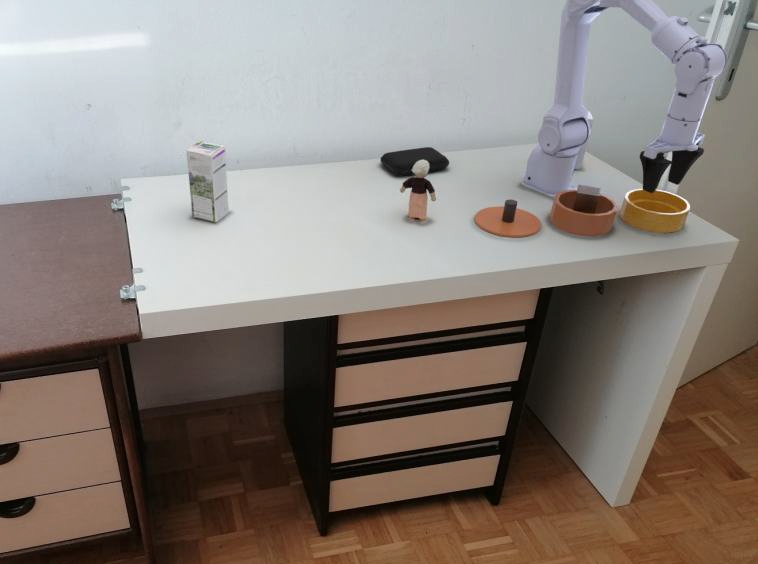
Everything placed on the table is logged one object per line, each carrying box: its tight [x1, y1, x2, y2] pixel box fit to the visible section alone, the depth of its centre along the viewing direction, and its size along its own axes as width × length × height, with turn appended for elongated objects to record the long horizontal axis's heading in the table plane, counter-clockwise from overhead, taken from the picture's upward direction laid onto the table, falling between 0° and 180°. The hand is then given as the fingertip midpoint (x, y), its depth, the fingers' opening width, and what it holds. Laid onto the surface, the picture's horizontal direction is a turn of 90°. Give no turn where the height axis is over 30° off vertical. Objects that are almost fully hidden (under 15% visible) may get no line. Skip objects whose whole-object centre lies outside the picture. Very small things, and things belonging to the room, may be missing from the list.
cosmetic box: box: [574, 111, 594, 170], centre depth 170 cm, size 6×4×12 cm
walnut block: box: [572, 184, 601, 214], centre depth 146 cm, size 4×4×7 cm
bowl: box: [619, 188, 691, 234], centre depth 148 cm, size 12×12×4 cm
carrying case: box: [379, 146, 450, 177], centre depth 171 cm, size 11×3×15 cm
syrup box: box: [186, 141, 230, 223], centre depth 145 cm, size 6×6×14 cm
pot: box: [549, 190, 619, 237], centre depth 146 cm, size 12×12×5 cm
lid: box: [474, 198, 542, 238], centre depth 146 cm, size 13×13×5 cm
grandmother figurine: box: [399, 160, 437, 222], centre depth 145 cm, size 8×4×13 cm, turn 71°
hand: (661, 186), depth 139 cm, fingers open, 7 cm apart
